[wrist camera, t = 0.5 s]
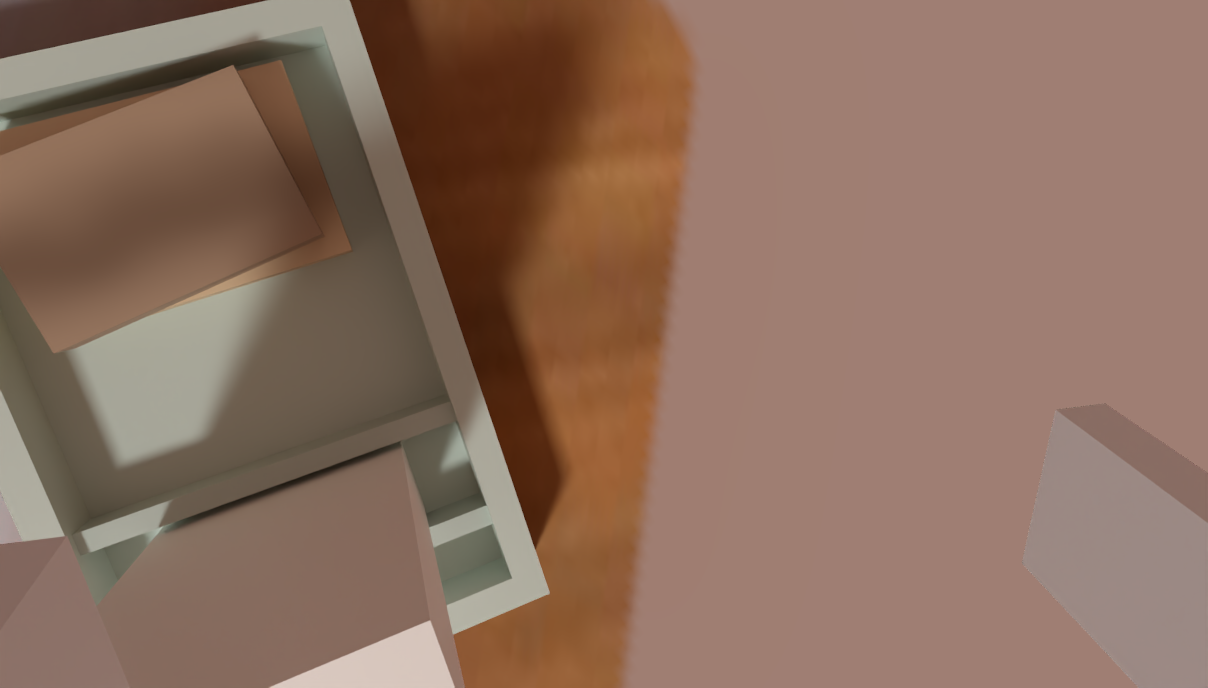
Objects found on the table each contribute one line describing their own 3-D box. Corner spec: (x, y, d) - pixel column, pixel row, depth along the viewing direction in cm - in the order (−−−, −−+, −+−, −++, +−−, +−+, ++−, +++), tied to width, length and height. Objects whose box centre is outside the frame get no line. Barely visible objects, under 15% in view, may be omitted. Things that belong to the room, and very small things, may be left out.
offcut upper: (-24, 184, 26) (-55, 177, 24) (242, 79, 28) (233, 65, 26) (76, 348, 27) (53, 353, 25) (325, 236, 29) (321, 233, 27)
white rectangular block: (167, 521, 30) (-103, 842, 13) (400, 438, 33) (430, 619, 15) (197, 593, 31) (-27, 991, 14) (424, 506, 33) (479, 756, 16)
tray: (-103, 121, 28) (-178, 97, 25) (347, 18, 32) (344, -17, 28) (156, 713, 32) (126, 773, 28) (531, 559, 36) (549, 593, 32)
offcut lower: (-2, 148, 28) (-30, 138, 26) (286, 73, 30) (280, 59, 28) (81, 337, 29) (60, 341, 27) (353, 251, 31) (351, 249, 30)
